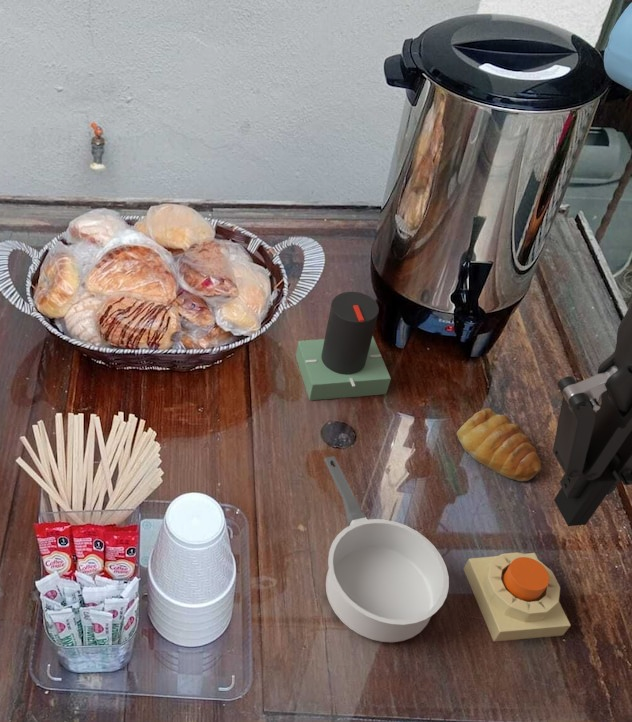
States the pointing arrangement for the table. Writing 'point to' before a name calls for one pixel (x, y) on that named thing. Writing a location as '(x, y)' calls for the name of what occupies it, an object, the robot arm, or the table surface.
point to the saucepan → (382, 573)
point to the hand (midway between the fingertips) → (569, 512)
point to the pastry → (499, 445)
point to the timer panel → (338, 385)
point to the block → (514, 601)
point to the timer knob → (349, 332)
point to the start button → (526, 578)
